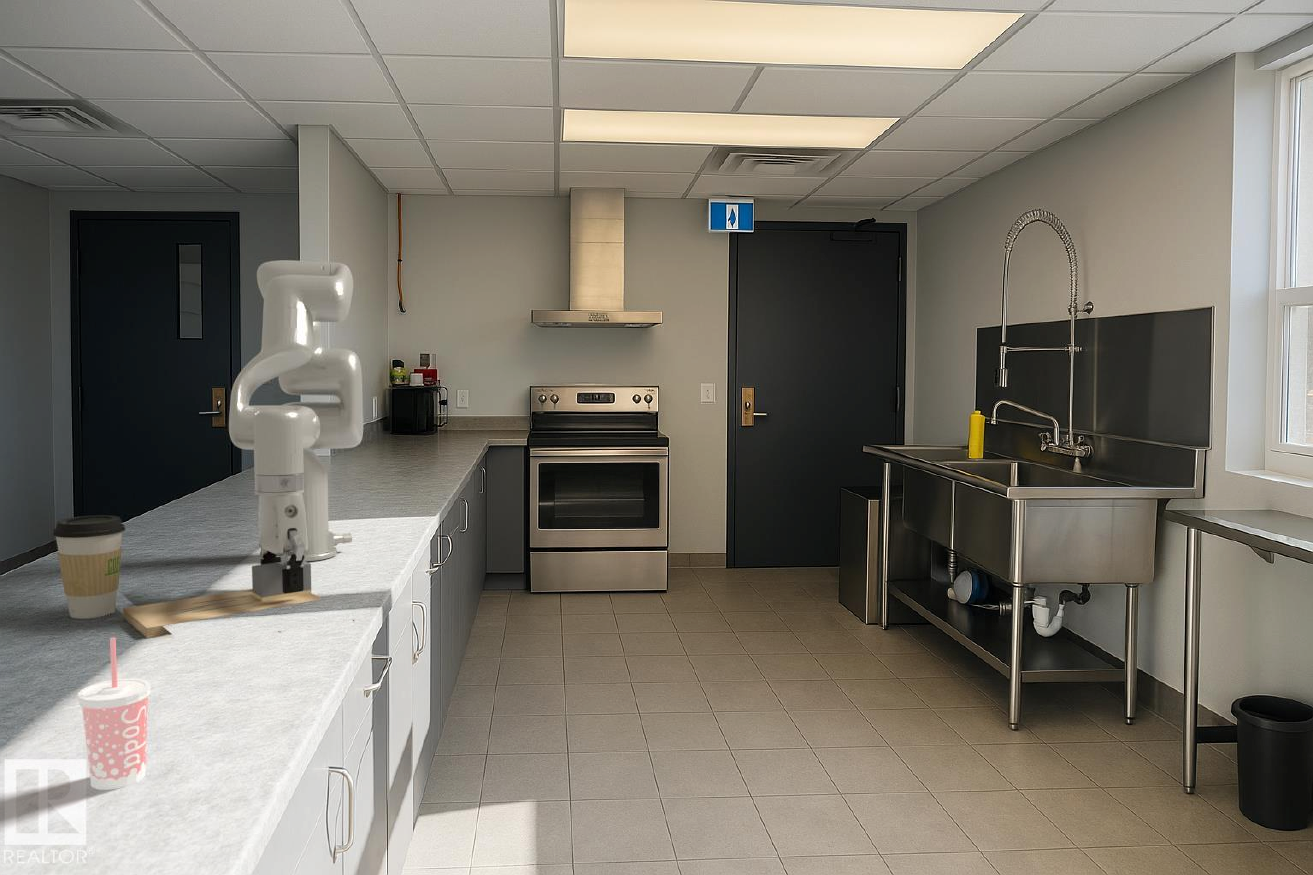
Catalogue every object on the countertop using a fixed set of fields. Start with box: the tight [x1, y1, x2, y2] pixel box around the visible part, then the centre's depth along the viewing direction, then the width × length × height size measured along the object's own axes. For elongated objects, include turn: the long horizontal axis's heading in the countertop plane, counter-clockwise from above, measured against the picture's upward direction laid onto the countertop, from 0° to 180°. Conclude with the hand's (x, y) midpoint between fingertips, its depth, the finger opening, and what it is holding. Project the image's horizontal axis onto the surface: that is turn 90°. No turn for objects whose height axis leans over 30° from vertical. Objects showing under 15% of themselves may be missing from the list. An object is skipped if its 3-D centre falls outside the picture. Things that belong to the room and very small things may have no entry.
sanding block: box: [251, 561, 312, 601], centre depth 155 cm, size 8×4×5 cm, turn 132°
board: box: [122, 588, 323, 639], centre depth 150 cm, size 26×14×2 cm, turn 132°
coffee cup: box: [52, 514, 126, 620], centre depth 148 cm, size 10×10×15 cm
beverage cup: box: [77, 636, 152, 791], centre depth 90 cm, size 6×6×14 cm
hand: (282, 586), depth 155 cm, fingers open, 9 cm apart
